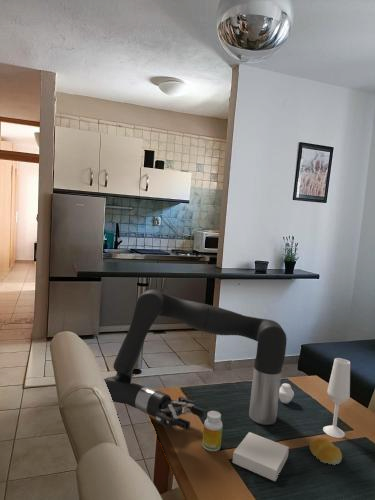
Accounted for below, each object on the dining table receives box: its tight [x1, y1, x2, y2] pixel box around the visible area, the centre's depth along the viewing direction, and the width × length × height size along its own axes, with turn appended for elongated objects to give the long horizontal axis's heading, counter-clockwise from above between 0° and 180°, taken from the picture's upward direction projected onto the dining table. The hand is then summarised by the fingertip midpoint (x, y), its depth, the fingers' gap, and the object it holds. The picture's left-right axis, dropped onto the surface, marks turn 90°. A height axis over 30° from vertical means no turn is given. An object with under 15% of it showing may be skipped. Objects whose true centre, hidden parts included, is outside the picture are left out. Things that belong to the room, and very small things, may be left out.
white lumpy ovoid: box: [279, 382, 295, 404], centre depth 136 cm, size 6×6×7 cm
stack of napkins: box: [232, 431, 290, 482], centre depth 100 cm, size 12×12×3 cm
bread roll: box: [309, 437, 343, 466], centre depth 105 cm, size 8×9×4 cm
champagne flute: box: [322, 357, 351, 439], centre depth 117 cm, size 7×7×24 cm
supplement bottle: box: [202, 410, 223, 452], centre depth 105 cm, size 5×5×10 cm
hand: (196, 419), depth 107 cm, fingers open, 8 cm apart
